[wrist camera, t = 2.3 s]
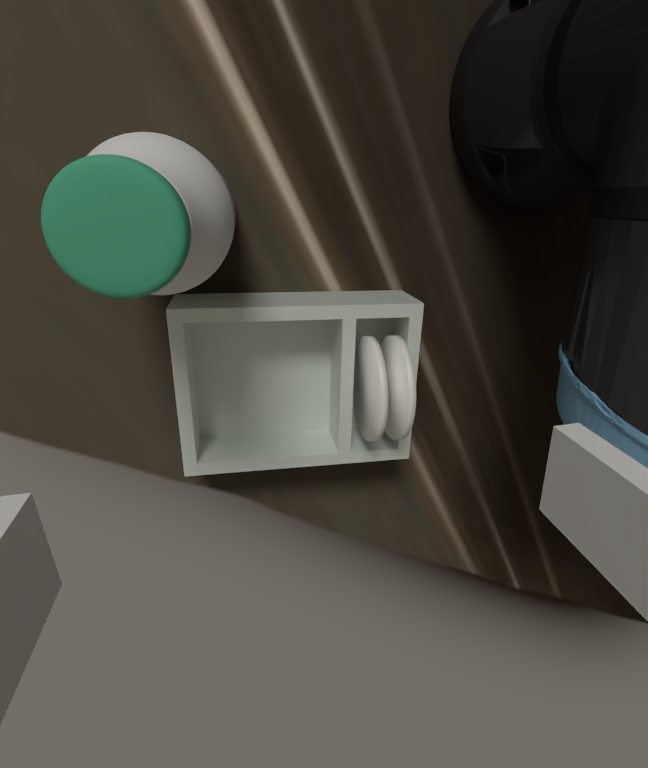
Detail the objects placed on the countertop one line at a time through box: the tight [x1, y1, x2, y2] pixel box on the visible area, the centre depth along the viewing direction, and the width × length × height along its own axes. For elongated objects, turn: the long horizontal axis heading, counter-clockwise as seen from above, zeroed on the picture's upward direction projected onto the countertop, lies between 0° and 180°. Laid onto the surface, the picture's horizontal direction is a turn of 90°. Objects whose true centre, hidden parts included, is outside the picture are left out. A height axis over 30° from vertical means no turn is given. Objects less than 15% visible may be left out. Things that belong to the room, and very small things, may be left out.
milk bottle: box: [41, 132, 236, 299], centre depth 24 cm, size 8×8×20 cm
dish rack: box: [166, 290, 424, 476], centre depth 35 cm, size 13×18×9 cm
